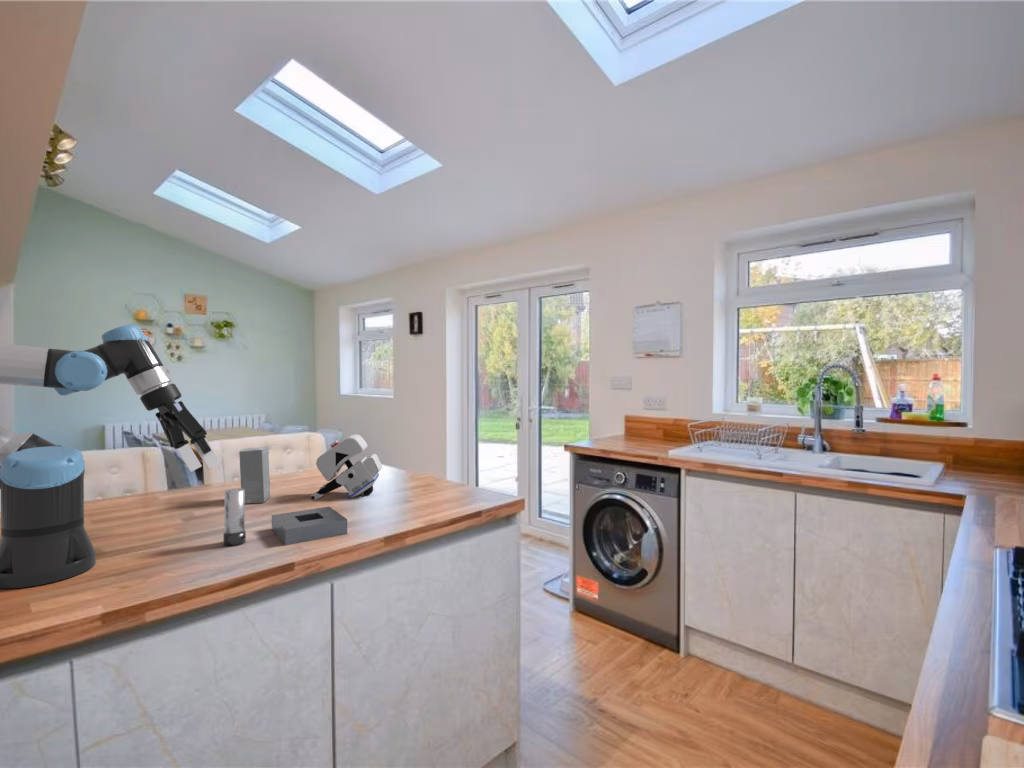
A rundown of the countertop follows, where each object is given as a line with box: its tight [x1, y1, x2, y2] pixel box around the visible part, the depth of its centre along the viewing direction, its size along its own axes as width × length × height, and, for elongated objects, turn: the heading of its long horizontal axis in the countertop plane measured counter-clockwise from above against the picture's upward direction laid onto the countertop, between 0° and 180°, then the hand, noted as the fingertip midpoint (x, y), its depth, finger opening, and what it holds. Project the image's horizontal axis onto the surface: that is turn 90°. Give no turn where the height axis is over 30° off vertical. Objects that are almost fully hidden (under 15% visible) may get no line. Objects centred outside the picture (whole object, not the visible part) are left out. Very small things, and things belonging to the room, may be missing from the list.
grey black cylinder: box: [222, 488, 247, 547], centre depth 114 cm, size 4×4×12 cm
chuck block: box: [271, 506, 348, 546], centre depth 123 cm, size 14×14×4 cm
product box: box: [239, 446, 271, 504], centre depth 151 cm, size 8×7×16 cm
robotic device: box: [310, 433, 383, 501], centre depth 159 cm, size 10×21×20 cm
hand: (205, 467), depth 122 cm, fingers open, 13 cm apart
